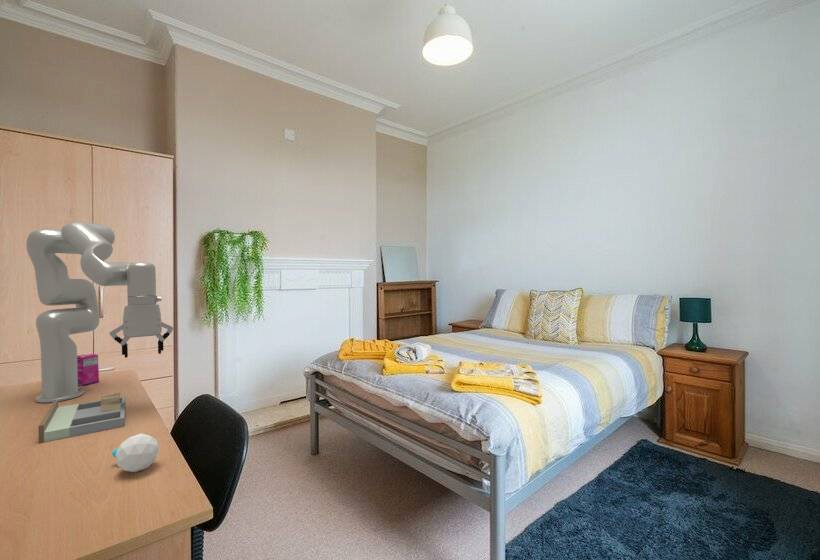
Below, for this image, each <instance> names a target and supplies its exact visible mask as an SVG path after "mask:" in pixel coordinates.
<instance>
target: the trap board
mask: <svg viewBox="0 0 820 560" xmlns="http://www.w3.org/2000/svg"><path fill="white" fill-rule="evenodd" d="M126 398H127V397H126V396H120V409H118V410H112V411H107V412H101V399H100V400H95V401H88V402H82V403H76V404H69V405H63V406H62V405H61V406H59V401H53V402H51V404H50V407H49V408H48V409H47V411H46V412H45V415H44V416H43V418H42V420H41V421H40V423H39V424H38V444H39V443H46V442H51V441H56V440H61V439H66V438H70V437H71V438H73V437H76V436H81V435H86V434H91V433H97V432H101V431H106V430H112V429H116V428H117V429H118V428H123V427H125V426H126V425H125V424H126V421H125V420H126V409H127V408H126V407H127V406H126V405H127V399H126Z"/></svg>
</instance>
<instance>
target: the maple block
mask: <svg viewBox="0 0 820 560" xmlns="http://www.w3.org/2000/svg"><path fill="white" fill-rule="evenodd" d="M120 397H121V392H116V393H108V394H103V395H101V397H100V400H101V412H107V411H112V410H118V409H120Z"/></svg>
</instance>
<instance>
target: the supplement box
mask: <svg viewBox="0 0 820 560" xmlns="http://www.w3.org/2000/svg"><path fill="white" fill-rule="evenodd" d="M77 369H78V386H82V387H85V386H89V385H93V384H96V383H97V384H98V383H100V377H99V375H100V373H99V355H98V354H95V353H90V352H89V353H84V354H81V355H77Z"/></svg>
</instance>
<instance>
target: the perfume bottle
mask: <svg viewBox="0 0 820 560" xmlns="http://www.w3.org/2000/svg"><path fill="white" fill-rule="evenodd" d="M159 451H160V448H159V441H158V440H157V439H156V438H155V437H153V436H151V435H148V434H145V433H142V432H141V433H138V434H135V435H132V436H129V437H128V438H126V439H125V440H124V441H123V442H121V443H120V445H119V447H117V448H115V449H114V450H113V451H112V452H111V453H112V456H113V457H114V458H115V462H116V466H118V467H119V468H121V469H122V470H123V471H125V472H130V473H137V472H139V471H142V470H146V469H147V468H148V467H150V465H152V464H153V463H154V462H155V461H156V459H157V456H158V453H159Z"/></svg>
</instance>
